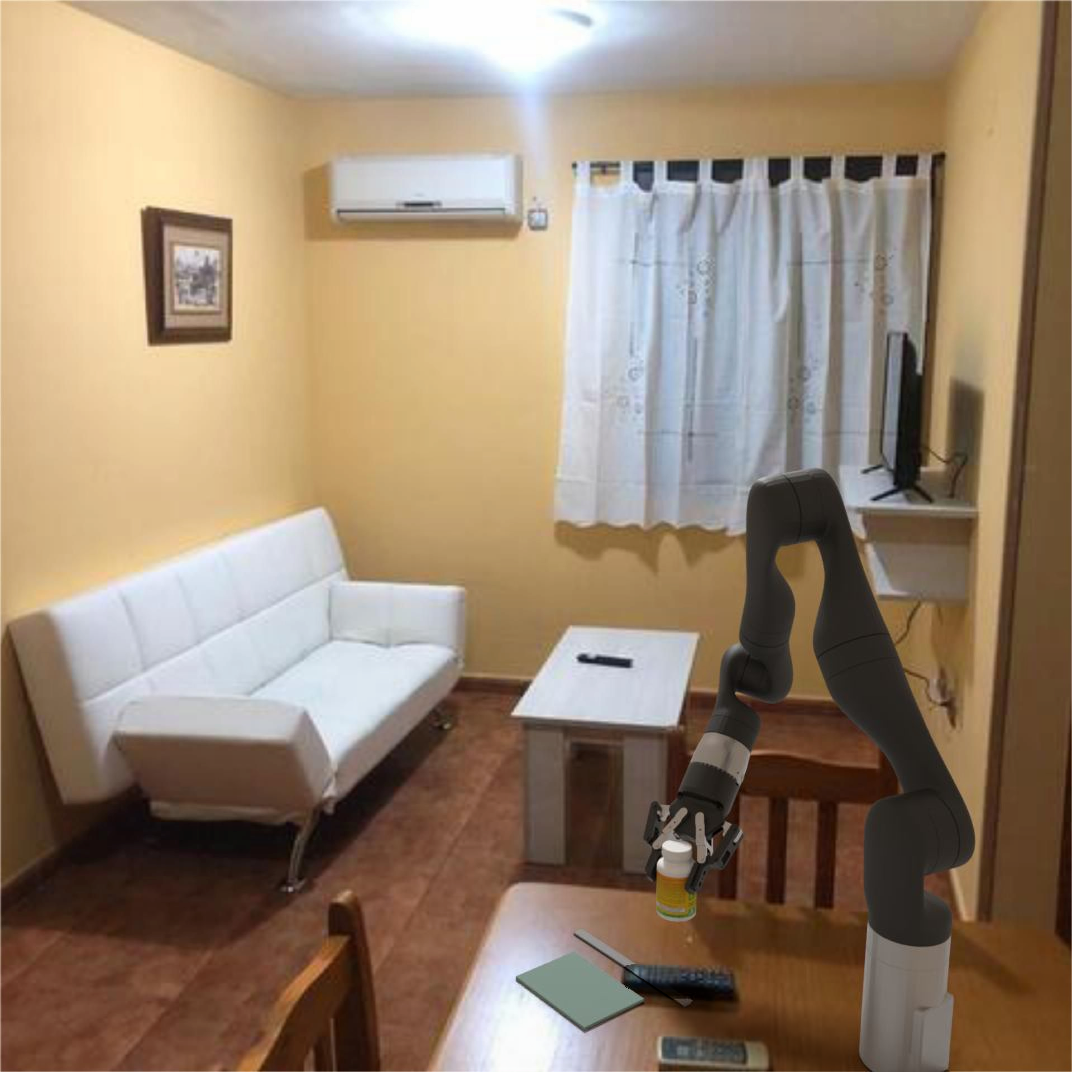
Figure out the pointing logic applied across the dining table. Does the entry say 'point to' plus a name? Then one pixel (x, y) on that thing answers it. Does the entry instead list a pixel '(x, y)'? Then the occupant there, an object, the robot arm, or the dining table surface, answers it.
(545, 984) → the mat
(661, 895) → the supplement bottle
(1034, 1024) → the dining table surface
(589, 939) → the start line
